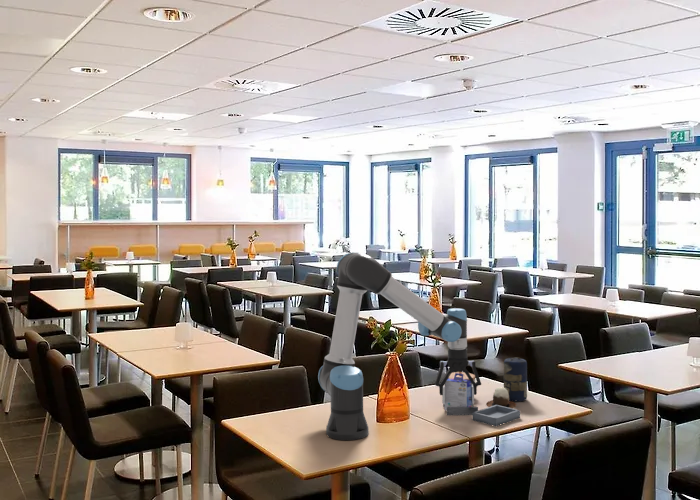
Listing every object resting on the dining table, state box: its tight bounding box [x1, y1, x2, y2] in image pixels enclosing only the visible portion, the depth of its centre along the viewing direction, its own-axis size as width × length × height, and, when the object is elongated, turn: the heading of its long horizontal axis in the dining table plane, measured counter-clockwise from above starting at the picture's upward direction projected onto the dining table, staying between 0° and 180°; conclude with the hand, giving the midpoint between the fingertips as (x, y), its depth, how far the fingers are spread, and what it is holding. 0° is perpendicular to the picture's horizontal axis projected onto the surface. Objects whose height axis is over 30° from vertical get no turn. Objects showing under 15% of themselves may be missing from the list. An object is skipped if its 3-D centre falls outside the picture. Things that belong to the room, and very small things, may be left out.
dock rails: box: [442, 403, 479, 416], centre depth 276 cm, size 12×13×3 cm
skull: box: [485, 386, 517, 409], centre depth 282 cm, size 12×10×10 cm
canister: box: [503, 356, 528, 402], centre depth 290 cm, size 10×10×18 cm
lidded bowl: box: [448, 371, 476, 386], centre depth 296 cm, size 13×13×11 cm
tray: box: [471, 405, 521, 427], centre depth 263 cm, size 11×15×3 cm
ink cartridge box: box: [444, 373, 472, 411], centre depth 275 cm, size 10×6×14 cm, turn 59°
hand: (458, 403), depth 275 cm, fingers closed on ink cartridge box, 11 cm apart
